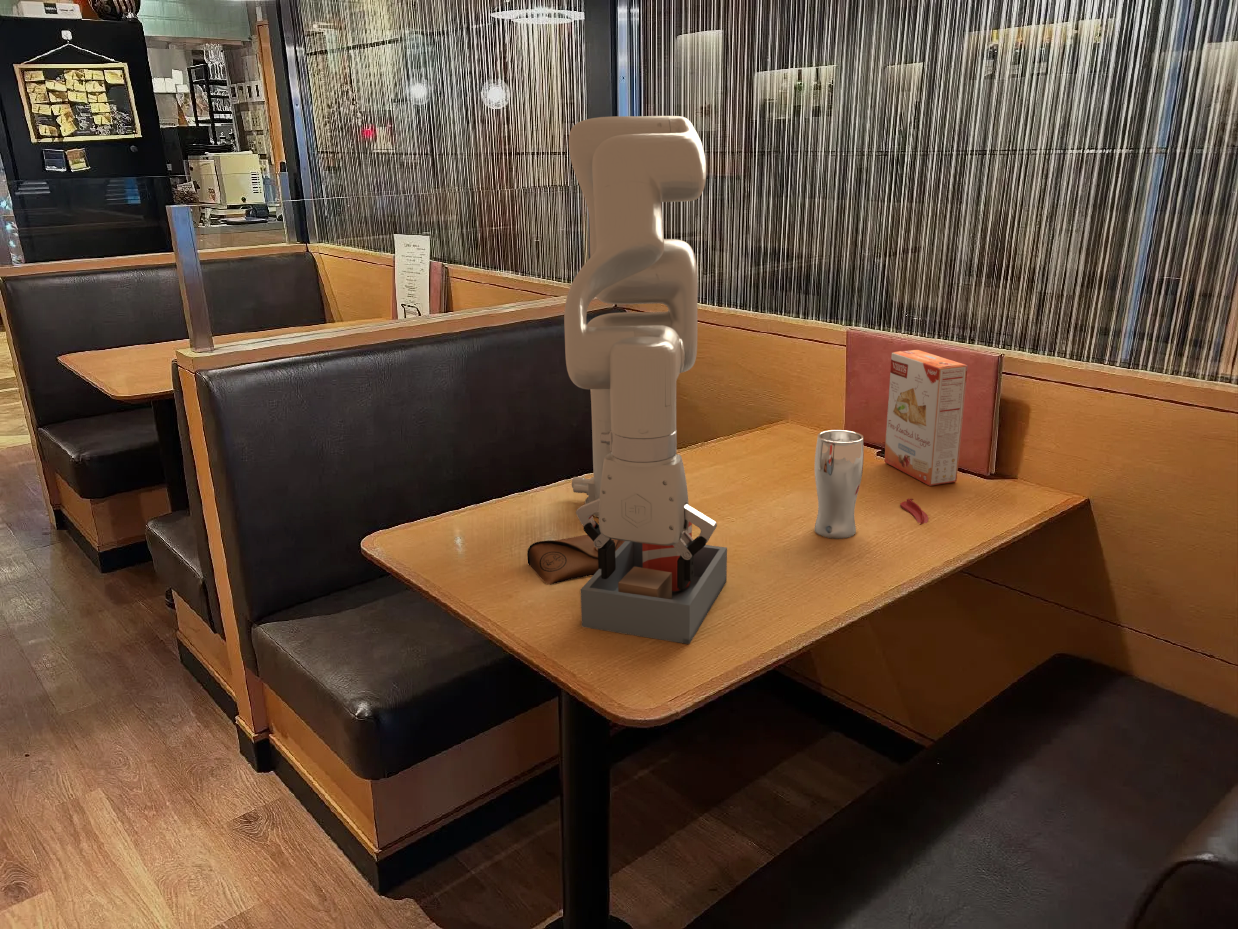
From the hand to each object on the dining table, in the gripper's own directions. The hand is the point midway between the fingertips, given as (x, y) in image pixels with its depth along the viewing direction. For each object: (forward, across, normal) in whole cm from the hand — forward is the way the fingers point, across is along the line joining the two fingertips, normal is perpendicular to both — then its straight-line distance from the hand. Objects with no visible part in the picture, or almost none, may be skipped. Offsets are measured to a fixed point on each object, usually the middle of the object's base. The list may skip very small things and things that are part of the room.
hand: (645, 579), depth 112 cm
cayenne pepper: (+6, +29, +48) cm, 56 cm away
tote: (+5, 0, +4) cm, 7 cm away
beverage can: (+5, 0, +9) cm, 10 cm away
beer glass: (+5, +18, +36) cm, 40 cm away
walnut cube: (+5, 0, 0) cm, 5 cm away
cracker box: (+5, +28, +67) cm, 73 cm away
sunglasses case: (+6, -12, +14) cm, 19 cm away
